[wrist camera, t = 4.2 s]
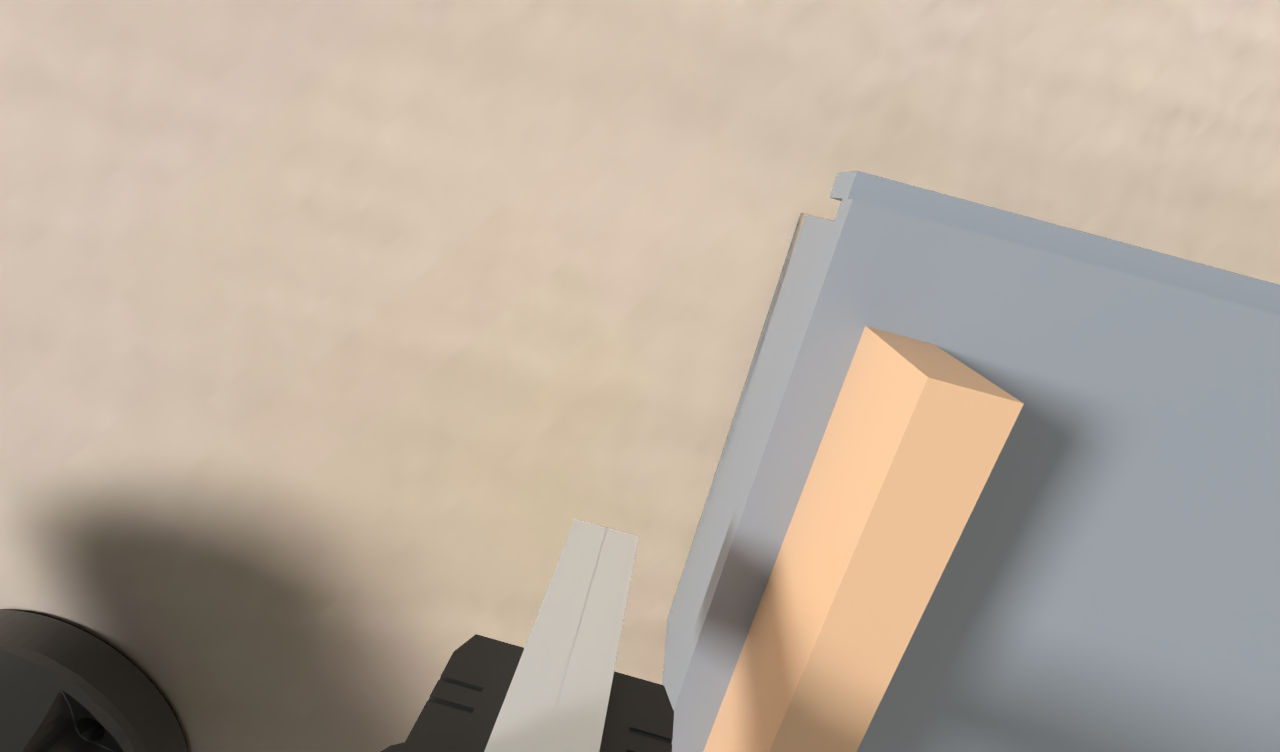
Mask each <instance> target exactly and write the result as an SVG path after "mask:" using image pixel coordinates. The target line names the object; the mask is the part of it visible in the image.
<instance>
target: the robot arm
mask: <svg viewBox="0 0 1280 752" xmlns="http://www.w3.org/2000/svg"><path fill="white" fill-rule="evenodd" d="M638 540H639V536H636V535H632V534H628V533H625V532H621V531H618V530H614V529H611V528H607V527H603V526H600V525H596V524H593V523H589V522H585V521H582V520H578V519H575V520H574V522H573V525H572V527H571V530H570V533H569V535H568V538H567V540H566V543H565V545H564V548H563V551H562V553H561V556H560V558H559V561H558V563H557V566H556V569H555V571H554V574H553V576H552V579H551V581H550V584H549V587H548V589H547V592H546V594H545V597H544V599H543V602H542V605H541V607H540V610H539V612H538V615H537V617H536V620H535V623H534V625H533V628H532V630H531V633H530V635H529V638H528V640H527V643H526V646H525V648H522V647H519V646H515V645H512V644H508V643H504V642H501V641H497V640H494V639H490V638H487V637H483V636H480V635H475V636H473V637H472V638H471V639H469V640H468V641H467V642H466V643H464V644H463V645H462V646H461V647H459V648H458V649H457V650H455V651H454V653H453V654H452V656H451V658H450V660H449V662H448V664H447V666H446V667H445V669H444V671H443V673H442V675H441V678H440V680H438V682H437V684H436V686H435V688H434V690H433V691H432V693H431V695H430V698H429V701H427V703H426V704H425V706H424V708H423V710H422V712H421V714H420V716H419V717H418V719H417V721H416V723H415V725H414V727H413V729H412V730H411V732H410V734H409V736H408V738H407V740H406V742H405V743H401V744H397V745H392V746H390V747H388V748H386V749H385V750H383V751H381V752H672V739H673V721H674V711H673V708H672V705H671V703H670V700H669V697H668V695H667V692H666V689H665V687H664V686H663V685H660V684H656V683H653V682H649V681H646V680H642V679H638V678H635V677H631V676H628V675H624V674H621V673H617V672H614V669H615V664H616V659H617V653H618V648H619V642H620V637H621V632H622V626H623V621H624V615H625V610H626V605H627V599H628V594H629V588H630V583H631V577H632V572H633V567H634V561H635V556H636V550H637V545H638ZM0 752H188V751H187V746H186V742H185V739H184V736H183V733H182V730H181V728H180V725H179V723H178V721H177V719H176V717H175V715H174V713H173V711H172V710H171V708H170V707H169V705H168V703H167V702H166V700H165V699H164V698H163V696H162V695H161V693H160V692H159V691H158V690H157V688H156V687H155V686H154V685H153V684H152V683H151V681H150V680H149V679H148V678H147V677H146V676H145V675H144V674H143V673H142V672H141V671H140V670H139V669H138V668H137V667H136V666H135V665H134V664H132V663H131V662H130V661H129V660H128V659H126V658H125V657H124V656H123V655H121V654H120V653H119V652H117V651H116V650H115V649H113V648H112V647H110V646H109V645H107V644H106V643H104V642H103V641H101V640H99V639H98V638H96V637H94V636H92V635H91V634H89V633H87V632H85V631H83V630H81V629H79V628H77V627H74V626H72V625H70V624H67V623H65V622H62V621H59V620H56V619H53V618H50V617H47V616H43V615H39V614H35V613H29V612H23V611H16V610H0Z"/></svg>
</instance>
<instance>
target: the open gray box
mask: <svg viewBox="0 0 1280 752" xmlns="http://www.w3.org/2000/svg"><path fill="white" fill-rule="evenodd" d="M834 222H835V221H832V220H828V219H824V218H819V217H815V216H811V215H807V214H802V213H801V215H800V218H799V221H798V224H797V227H796V230H795V233H794V236H793V239H792V242H791V245H790V248H789V251H788V254H787V257H786V260H785V263H784V266H783V269H782V272H781V275H780V279H779V282H778V285H777V288H776V291H775V294H774V297H773V300H772V303H771V306H770V309H769V312H768V315H767V318H766V321H765V324H764V327H763V330H762V333H761V336H760V339H759V342H758V346H757V349H756V352H755V355H754V358H753V361H752V364H751V367H750V370H749V373H748V376H747V379H746V382H745V385H744V388H743V391H742V394H741V397H740V400H739V403H738V406H737V409H736V413H735V416H734V419H733V422H732V425H731V428H730V431H729V434H728V437H727V440H726V443H725V446H724V449H723V452H722V455H721V458H720V461H719V464H718V467H717V470H716V473H715V476H714V479H713V483H712V486H711V489H710V492H709V495H708V498H707V501H706V504H705V507H704V510H703V513H702V516H701V519H700V522H699V525H698V528H697V531H696V534H695V537H694V540H693V543H692V546H691V550H690V553H689V556H688V559H687V562H686V565H685V568H684V571H683V574H682V577H681V580H680V583H679V586H678V589H677V592H676V595H675V598H674V601H673V604H672V607H671V610H670V613H669V617H668V620H667V631H666V644H665V658H664V671H663V684H662V685H663V686H664V687H665V689H666V692H667V695H668V697H669V698H670V695H671V693H672V690H673V687H674V684H675V681H676V678H677V675H678V672H679V669H680V667H681V664H682V661H683V658H684V655H685V652H686V649H687V646H688V643H689V641H690V638H691V635H692V632H693V629H694V626H695V623H696V620H697V617H698V615H699V612H700V609H701V606H702V603H703V600H704V597H705V594H706V591H707V589H708V586H709V583H710V580H711V577H712V574H713V571H714V568H715V565H716V563H717V560H718V557H719V554H720V551H721V548H722V545H723V542H724V539H725V536H726V534H727V531H728V528H729V525H730V522H731V519H732V516H733V513H734V510H735V508H736V505H737V502H738V499H739V496H740V493H741V490H742V487H743V484H744V482H745V479H746V476H747V473H748V470H749V467H750V464H751V461H752V458H753V456H754V453H755V450H756V447H757V444H758V441H759V438H760V435H761V432H762V430H763V427H764V424H765V421H766V418H767V415H768V412H769V409H770V406H771V404H772V401H773V398H774V395H775V392H776V389H777V386H778V383H779V380H780V378H781V375H782V372H783V369H784V366H785V363H786V360H787V357H788V354H789V352H790V349H791V346H792V343H793V340H794V337H795V334H796V331H797V328H798V326H799V323H800V320H801V317H802V314H803V311H804V308H805V305H806V302H807V300H808V297H809V294H810V291H811V288H812V285H813V282H814V279H815V276H816V274H817V271H818V268H819V265H820V262H821V259H822V256H823V253H824V250H825V248H826V245H827V242H828V239H829V236H830V233H831V230H832V227H833V224H834Z"/></svg>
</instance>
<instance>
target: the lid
mask: <svg viewBox="0 0 1280 752" xmlns="http://www.w3.org/2000/svg"><path fill="white" fill-rule="evenodd" d="M829 198H833V199H836V200H840V201H841V204H840V207H839V210H838V213H837V216H836V219H835V222H834V224H833V227H832V230H831V233H830V236H829V239H828V242H827V245H826V248H825V250H824V253H823V256H822V259H821V262H820V265H819V268H818V271H817V274H816V276H815V279H814V282H813V285H812V288H811V291H810V294H809V297H808V300H807V302H806V305H805V308H804V311H803V314H802V317H801V320H800V323H799V326H798V328H797V331H796V334H795V337H794V340H793V343H792V346H791V349H790V352H789V354H788V357H787V360H786V363H785V366H784V369H783V372H782V375H781V378H780V380H779V383H778V386H777V389H776V392H775V395H774V398H773V401H772V404H771V406H770V409H769V412H768V415H767V418H766V421H765V424H764V427H763V430H762V432H761V435H760V438H759V441H758V444H757V447H756V450H755V453H754V456H753V458H752V461H751V464H750V467H749V470H748V473H747V476H746V479H745V482H744V484H743V487H742V490H741V493H740V496H739V499H738V502H737V505H736V508H735V510H734V513H733V516H732V519H731V522H730V525H729V528H728V531H727V534H726V536H725V539H724V542H723V545H722V548H721V551H720V554H719V557H718V560H717V563H716V565H715V568H714V571H713V574H712V577H711V580H710V583H709V586H708V589H707V591H706V594H705V597H704V600H703V603H702V606H701V609H700V612H699V615H698V617H697V620H696V623H695V626H694V629H693V632H692V635H691V638H690V641H689V643H688V646H687V649H686V652H685V655H684V658H683V661H682V664H681V667H680V669H679V672H678V675H677V678H676V681H675V684H674V687H673V690H672V693H671V695H670V698H669V700H670V703H671V705H672V708H673V711H674V721H673V739H672V752H1280V285H1278V284H1274V283H1270V282H1267V281H1263V280H1259V279H1255V278H1252V277H1248V276H1244V275H1241V274H1237V273H1233V272H1230V271H1226V270H1222V269H1218V268H1215V267H1211V266H1207V265H1204V264H1200V263H1196V262H1193V261H1189V260H1185V259H1181V258H1178V257H1174V256H1170V255H1167V254H1163V253H1159V252H1156V251H1152V250H1148V249H1144V248H1141V247H1137V246H1133V245H1130V244H1126V243H1122V242H1119V241H1115V240H1111V239H1107V238H1104V237H1100V236H1096V235H1093V234H1089V233H1085V232H1082V231H1078V230H1074V229H1070V228H1067V227H1063V226H1059V225H1056V224H1052V223H1048V222H1045V221H1041V220H1037V219H1033V218H1030V217H1026V216H1022V215H1019V214H1015V213H1011V212H1008V211H1004V210H1000V209H996V208H993V207H989V206H985V205H982V204H978V203H974V202H971V201H967V200H963V199H959V198H956V197H952V196H948V195H945V194H941V193H937V192H934V191H930V190H926V189H922V188H919V187H915V186H911V185H908V184H904V183H900V182H897V181H893V180H889V179H885V178H882V177H878V176H874V175H871V174H867V173H863V172H860V171H852V172H843V173H838V174H837V177H836V180H835V183H834V185H833V188H832V191H831V194H830V197H829Z"/></svg>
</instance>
